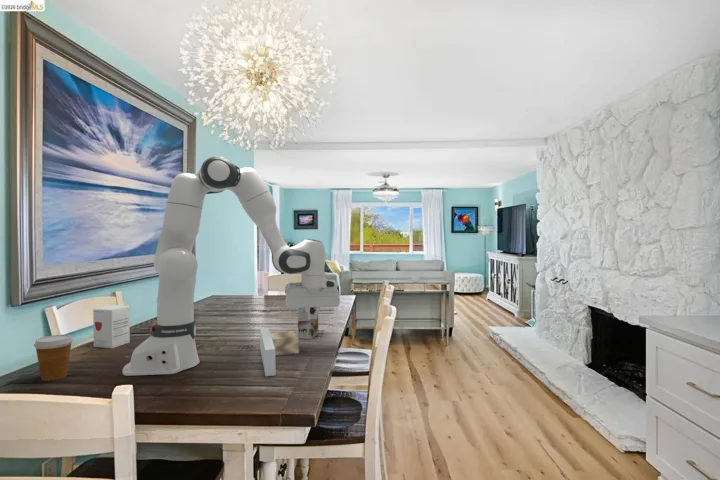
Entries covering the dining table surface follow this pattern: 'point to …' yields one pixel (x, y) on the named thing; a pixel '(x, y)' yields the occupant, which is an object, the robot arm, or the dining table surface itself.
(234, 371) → the dining table surface
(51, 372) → the disposable coffee cup
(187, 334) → the robot arm
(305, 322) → the coffee box
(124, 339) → the supplement box
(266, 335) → the board
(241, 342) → the dining table surface
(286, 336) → the maple block
